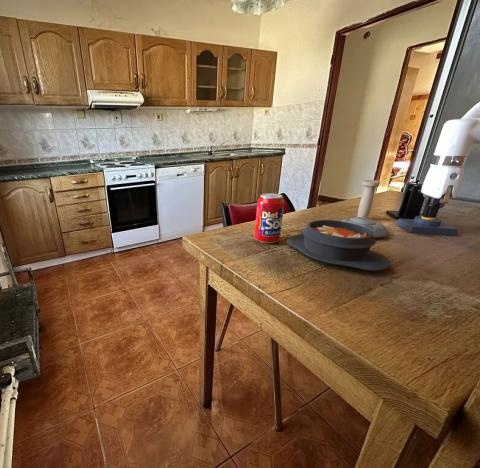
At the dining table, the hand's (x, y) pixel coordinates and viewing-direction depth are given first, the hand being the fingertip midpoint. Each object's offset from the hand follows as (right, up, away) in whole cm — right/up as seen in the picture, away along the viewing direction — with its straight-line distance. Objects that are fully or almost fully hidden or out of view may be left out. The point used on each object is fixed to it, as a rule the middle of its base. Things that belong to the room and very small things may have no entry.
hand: (428, 216), depth 87 cm
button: (0, -2, +1) cm, 2 cm away
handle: (-13, 0, +13) cm, 18 cm away
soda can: (-57, -8, -3) cm, 57 cm away
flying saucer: (-23, -6, +1) cm, 24 cm away
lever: (+9, +7, +11) cm, 16 cm away
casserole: (-43, -12, -15) cm, 47 cm away
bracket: (+6, +1, +14) cm, 16 cm away
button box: (0, -4, +2) cm, 5 cm away
